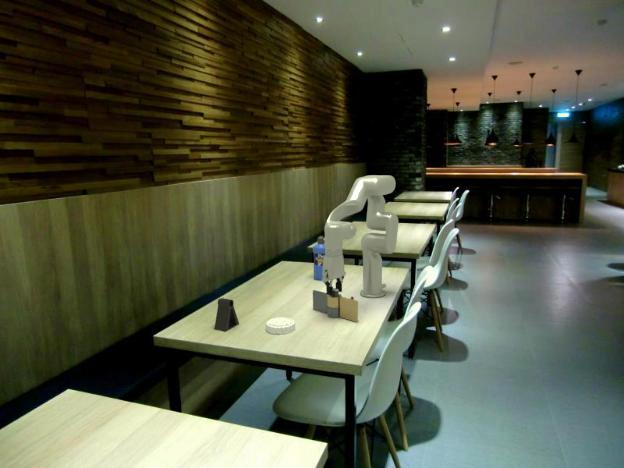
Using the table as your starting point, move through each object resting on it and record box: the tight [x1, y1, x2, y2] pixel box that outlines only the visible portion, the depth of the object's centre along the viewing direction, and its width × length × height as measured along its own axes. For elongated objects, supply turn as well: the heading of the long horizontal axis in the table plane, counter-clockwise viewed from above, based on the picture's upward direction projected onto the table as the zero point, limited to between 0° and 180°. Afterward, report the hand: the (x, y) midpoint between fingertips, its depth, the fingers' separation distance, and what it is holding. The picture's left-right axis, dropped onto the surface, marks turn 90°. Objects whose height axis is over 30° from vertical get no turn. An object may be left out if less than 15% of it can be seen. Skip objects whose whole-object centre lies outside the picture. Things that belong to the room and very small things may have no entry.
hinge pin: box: [332, 287, 340, 297], centre depth 193 cm, size 3×3×12 cm
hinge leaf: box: [327, 293, 359, 323], centre depth 190 cm, size 6×16×9 cm, turn 47°
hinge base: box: [312, 289, 341, 319], centre depth 196 cm, size 6×16×9 cm, turn 47°
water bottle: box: [312, 235, 325, 282], centre depth 252 cm, size 9×9×25 cm
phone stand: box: [213, 297, 240, 332], centre depth 182 cm, size 9×6×12 cm, turn 151°
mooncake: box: [265, 316, 296, 335], centre depth 179 cm, size 12×12×4 cm
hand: (334, 292), depth 192 cm, fingers open, 5 cm apart
